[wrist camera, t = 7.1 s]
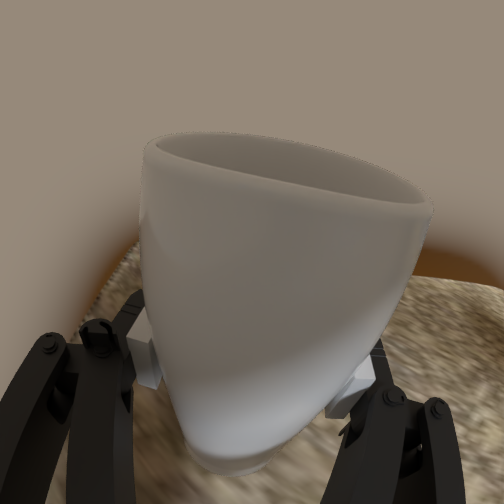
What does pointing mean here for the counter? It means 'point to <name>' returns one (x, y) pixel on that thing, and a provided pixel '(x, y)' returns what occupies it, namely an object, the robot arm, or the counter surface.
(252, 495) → the counter surface
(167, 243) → the drinking glass
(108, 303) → the counter surface
